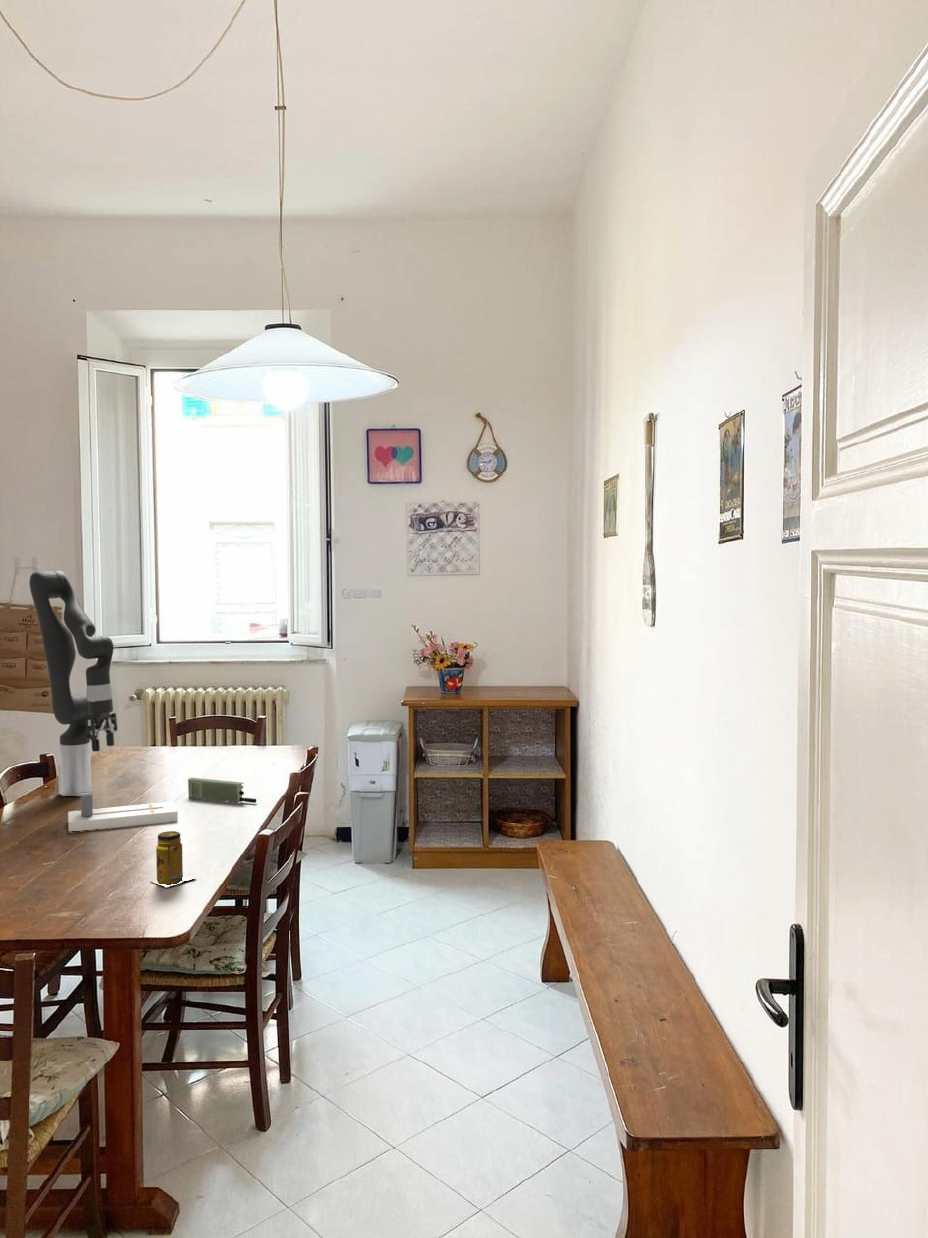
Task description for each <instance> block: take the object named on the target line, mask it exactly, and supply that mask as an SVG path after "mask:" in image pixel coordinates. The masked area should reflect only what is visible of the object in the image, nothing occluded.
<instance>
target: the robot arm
mask: <svg viewBox="0 0 928 1238" xmlns="http://www.w3.org/2000/svg"><path fill="white" fill-rule="evenodd" d="M29 589H30V594H31V598H32V601H33V605H34V608H35V611H36V615H37V618H38V622H39V627H40V633H41V639H42V644H43V650H44V651H43V652H44V655H45V660H46V664H47V669H48V676H49V682H50V690H51V691H50V693H51V704H52V711H53V714H54V717H55V718H54V719H56V720H57V722H58V723H59V724H60V725H69V726H68V728H67V729H66V730H65V731H64V732H62V733H61V735H60V736H59V754H60V755H59V760H60V764H59V765H58V766H57V773H58V774H57V775H58V776H57V777H58V778H57V779H58V783H57V784H58V795H60V796H62V797H65V796H77V797H81V792H88V791H92V781H91V780H92V779H91V778H92V776H91V775H92V773H91V750H92V752H100V751H101V748H100V746H101V744H100V736H101V734H102V733H103V731H104V733H106V734H105V737H106V747H107V746H108V747H113V746H114V745H115V739H114V738H115V736H114V734H115V733H116V732H117V731H118V720H117V714H116V712H114V703H113V702H114V701H113V690H112V685H111V674H110V670H111V664H112V659H113V654H114V642H113V641H112V639H111V638H110V636H108V635H96V636H94V635H95V633H96V626H95V625H94V623H93V622H92V620H91V618H89V616H88V615H87V614H86V612H85V611H84V609H83V608H82V605H81V603H80V601H79V599H78V597H77V595H76V592H75V590H74V588H73V586H72V584H71V581H70V580H69V578H68V576H67V575H66V574H65V572H63V571H62V570H45V571H43V570H42V571H34V572H32V574H30V577H29ZM58 598H59V599H60V600H62V601H63V602H64V611H63V622H64V623H63V622H62V621H61V619H59V618H58V616H57V615H56V614H55V612H54V610H53V608H52V605H51V602H50V599H52V600H53V599H58ZM75 645H76V647H75ZM76 650H77V652H78V654H79V656H80V657H81V658H83V659H85V660H92V659H97V660H96V663H95V664H93V665H91V666H89V667H87V668H86V670H85V678H86V694H83V693H77V694H72V692H71V685H70V677H71V674H72V670H73V668H74V665H75V661H76V653H77V652H76Z"/></svg>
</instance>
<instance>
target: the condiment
mask: <svg viewBox="0 0 928 1238" xmlns="http://www.w3.org/2000/svg"><path fill="white" fill-rule="evenodd" d="M181 840H182V839H181V833H180V832H179V831H176V830H169V831H168V830H167V831H164V832H160V833H159V834H158V835H157V845H156V851H155V852H156V853H155V854H156V858H155V859H156V880H157V881H158V883H159V884H166V885H171V884H177V883H179V882H180V881H182V877H183V874H184V873H183V872H184V871H183V869H184V867H183V843H182V841H181Z"/></svg>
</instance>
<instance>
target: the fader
mask: <svg viewBox="0 0 928 1238" xmlns="http://www.w3.org/2000/svg"><path fill="white" fill-rule="evenodd" d="M92 809H93V791H92V790H91V791H88V792H81V796H80V810H81V816H91V815H93V811H92Z"/></svg>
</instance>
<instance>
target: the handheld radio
mask: <svg viewBox="0 0 928 1238" xmlns="http://www.w3.org/2000/svg"><path fill="white" fill-rule="evenodd" d="M187 783H188V785H187V787H188V799H193V798H197V799H196V800H203V799H205V800H204V801H212V800H216V801H215V802H221V801H228V802H227V803H230V802H241V801H242V802H245V803H254V804H256V803H257V799H256V798H252V797H243V795H245V792H244V791H243V789H244V785H243V784H244V782H239V781H231V780H220V779H210V778H199V777H190V778H187Z"/></svg>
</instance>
